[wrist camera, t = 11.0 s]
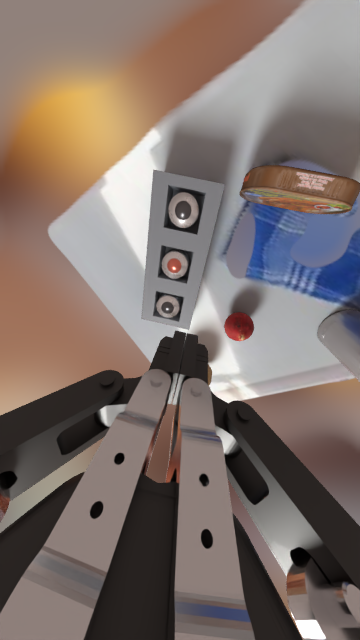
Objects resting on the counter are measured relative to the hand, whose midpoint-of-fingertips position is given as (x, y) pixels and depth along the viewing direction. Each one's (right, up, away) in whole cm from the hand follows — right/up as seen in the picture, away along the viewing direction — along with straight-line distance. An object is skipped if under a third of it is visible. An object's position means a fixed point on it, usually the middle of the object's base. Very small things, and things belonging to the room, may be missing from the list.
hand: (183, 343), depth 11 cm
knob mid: (-1, +13, +21) cm, 25 cm away
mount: (0, +14, +23) cm, 27 cm away
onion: (+12, +2, +28) cm, 31 cm away
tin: (+17, +22, +17) cm, 32 cm away
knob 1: (-2, +6, +25) cm, 26 cm away
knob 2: (+1, +20, +17) cm, 26 cm away
